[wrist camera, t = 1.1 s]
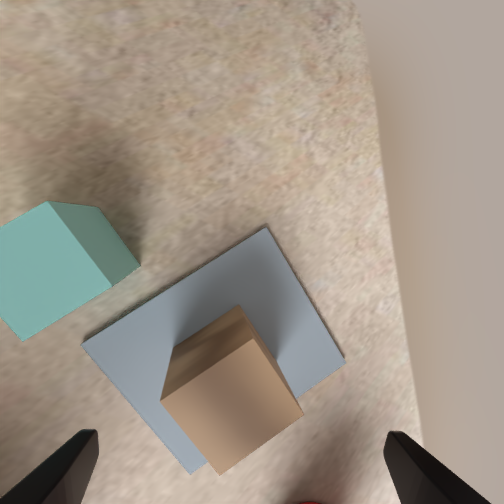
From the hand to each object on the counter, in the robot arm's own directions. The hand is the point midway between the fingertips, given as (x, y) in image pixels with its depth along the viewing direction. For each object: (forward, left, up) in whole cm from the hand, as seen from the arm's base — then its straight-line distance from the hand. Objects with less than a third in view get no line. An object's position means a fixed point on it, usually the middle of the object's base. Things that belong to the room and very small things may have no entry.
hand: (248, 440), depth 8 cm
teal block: (-6, +8, -13) cm, 16 cm away
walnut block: (-2, -4, -12) cm, 13 cm away
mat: (-2, -4, -13) cm, 13 cm away
